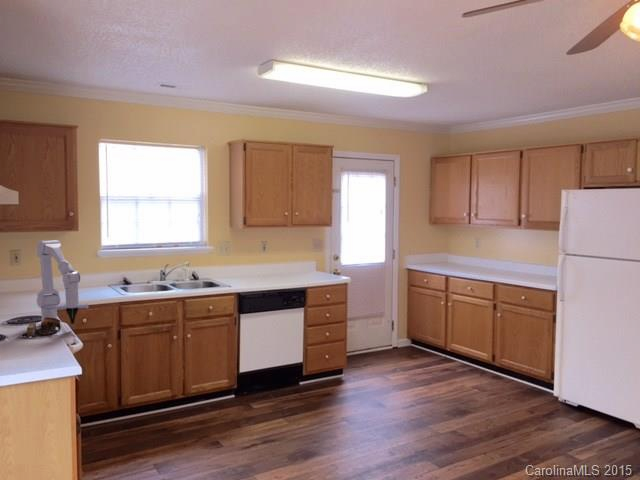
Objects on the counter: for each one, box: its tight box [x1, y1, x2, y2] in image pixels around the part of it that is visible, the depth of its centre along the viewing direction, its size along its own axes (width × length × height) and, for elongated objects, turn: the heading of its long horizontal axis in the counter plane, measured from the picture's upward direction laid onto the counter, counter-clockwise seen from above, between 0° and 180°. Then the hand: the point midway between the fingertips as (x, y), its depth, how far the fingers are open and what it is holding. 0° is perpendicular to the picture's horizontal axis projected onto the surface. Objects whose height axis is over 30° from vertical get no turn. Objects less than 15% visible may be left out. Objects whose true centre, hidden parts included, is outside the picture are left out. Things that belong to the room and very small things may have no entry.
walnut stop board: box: [26, 322, 37, 337], centre depth 259 cm, size 12×2×4 cm, turn 22°
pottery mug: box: [38, 317, 61, 335], centre depth 262 cm, size 12×10×8 cm
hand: (72, 323), depth 265 cm, fingers closed
